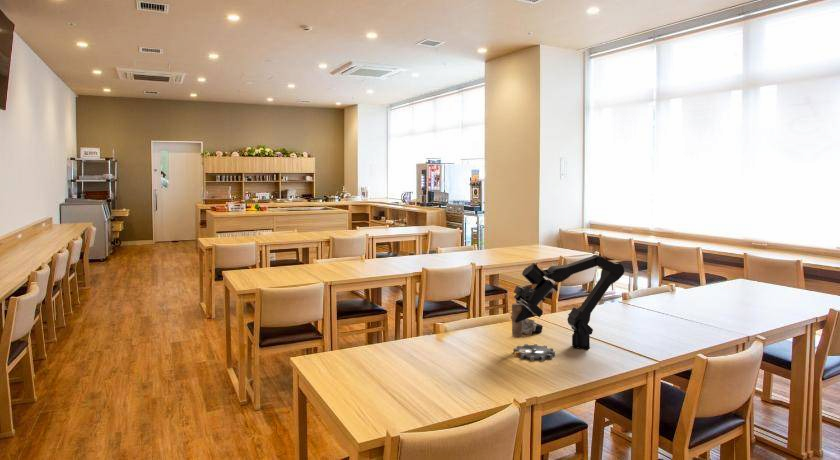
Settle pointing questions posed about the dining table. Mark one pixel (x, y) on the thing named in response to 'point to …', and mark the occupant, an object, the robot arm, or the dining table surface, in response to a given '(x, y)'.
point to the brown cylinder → (517, 326)
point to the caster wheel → (530, 326)
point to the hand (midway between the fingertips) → (513, 320)
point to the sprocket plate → (534, 352)
